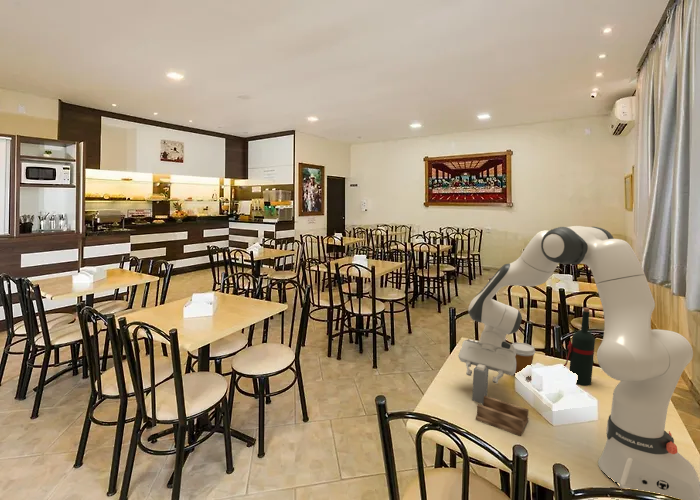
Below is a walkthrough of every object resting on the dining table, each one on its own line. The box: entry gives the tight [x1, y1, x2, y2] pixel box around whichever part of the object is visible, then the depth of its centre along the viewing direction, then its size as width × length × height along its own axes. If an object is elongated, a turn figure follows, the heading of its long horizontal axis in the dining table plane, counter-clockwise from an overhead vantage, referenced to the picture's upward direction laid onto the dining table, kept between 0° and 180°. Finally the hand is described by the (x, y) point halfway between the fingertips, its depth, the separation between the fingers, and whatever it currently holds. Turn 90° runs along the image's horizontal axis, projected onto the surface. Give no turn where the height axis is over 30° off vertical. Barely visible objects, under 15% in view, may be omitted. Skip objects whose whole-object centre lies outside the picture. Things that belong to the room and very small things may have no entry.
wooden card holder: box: [474, 395, 529, 437], centre depth 122 cm, size 14×10×4 cm
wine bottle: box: [563, 307, 596, 387], centre depth 146 cm, size 8×10×30 cm
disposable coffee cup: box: [511, 342, 536, 373], centre depth 153 cm, size 10×10×12 cm
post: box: [471, 364, 490, 405], centre depth 133 cm, size 4×4×13 cm
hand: (481, 378), depth 134 cm, fingers open, 8 cm apart
